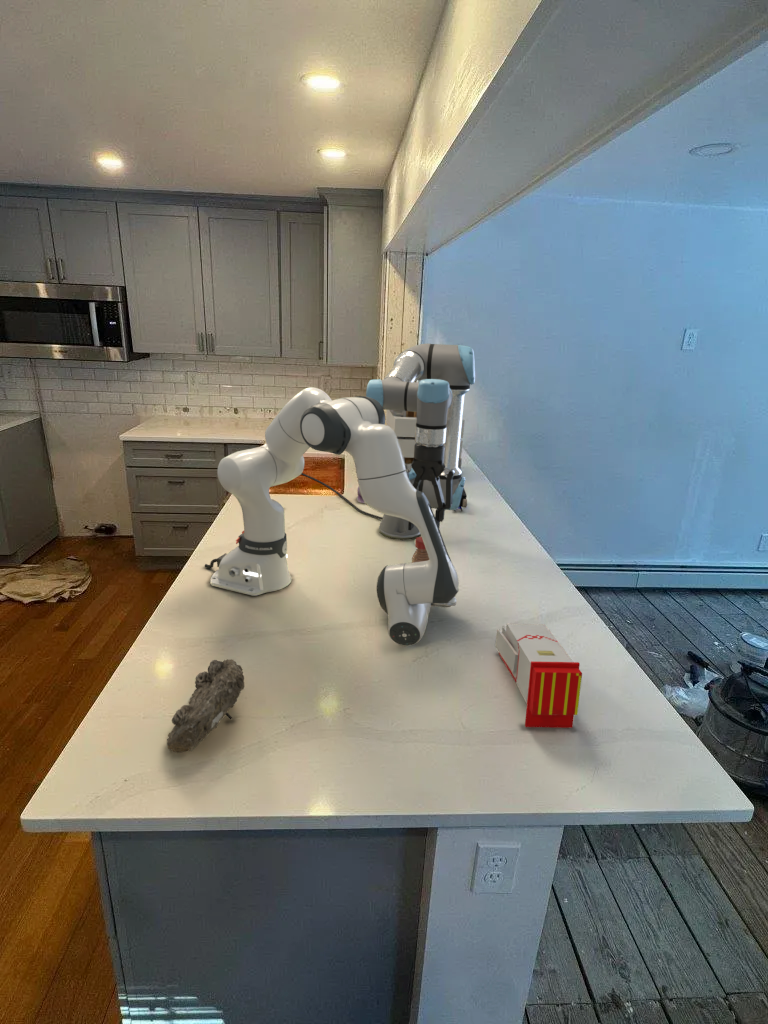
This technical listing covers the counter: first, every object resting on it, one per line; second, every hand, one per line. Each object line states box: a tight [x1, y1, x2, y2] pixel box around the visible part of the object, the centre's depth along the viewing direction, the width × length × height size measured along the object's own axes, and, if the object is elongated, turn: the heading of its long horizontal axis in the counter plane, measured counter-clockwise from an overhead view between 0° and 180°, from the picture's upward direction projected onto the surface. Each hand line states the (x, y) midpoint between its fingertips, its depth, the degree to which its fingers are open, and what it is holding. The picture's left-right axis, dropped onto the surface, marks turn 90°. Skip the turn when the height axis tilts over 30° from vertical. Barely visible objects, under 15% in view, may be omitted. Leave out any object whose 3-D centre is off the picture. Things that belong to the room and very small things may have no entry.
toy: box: [494, 623, 583, 729], centre depth 120 cm, size 12×13×30 cm
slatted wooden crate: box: [385, 410, 465, 471], centre depth 268 cm, size 34×33×41 cm
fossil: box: [166, 658, 245, 754], centre depth 106 cm, size 22×10×15 cm
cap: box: [414, 536, 426, 549], centre depth 149 cm, size 4×4×2 cm
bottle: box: [411, 548, 429, 563], centre depth 152 cm, size 5×5×18 cm
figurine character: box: [453, 487, 468, 512], centre depth 228 cm, size 7×8×15 cm
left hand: (420, 577), depth 154 cm, fingers closed on bottle, 5 cm apart
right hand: (423, 530), depth 148 cm, fingers open, 6 cm apart
